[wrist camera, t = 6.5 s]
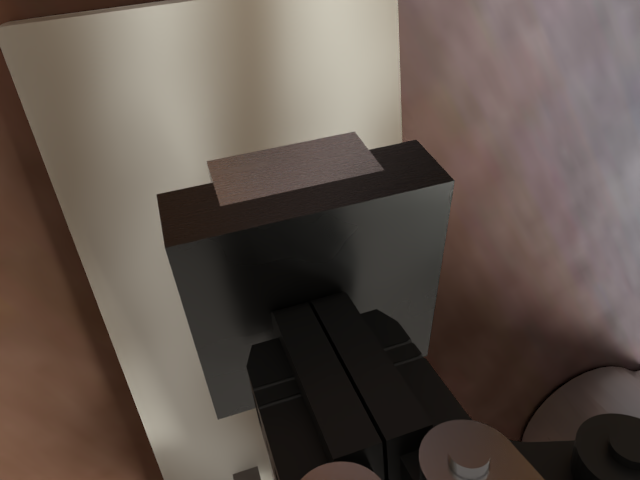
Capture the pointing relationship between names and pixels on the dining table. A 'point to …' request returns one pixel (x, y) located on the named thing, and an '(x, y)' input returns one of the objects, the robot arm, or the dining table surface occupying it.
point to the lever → (303, 245)
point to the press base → (187, 161)
